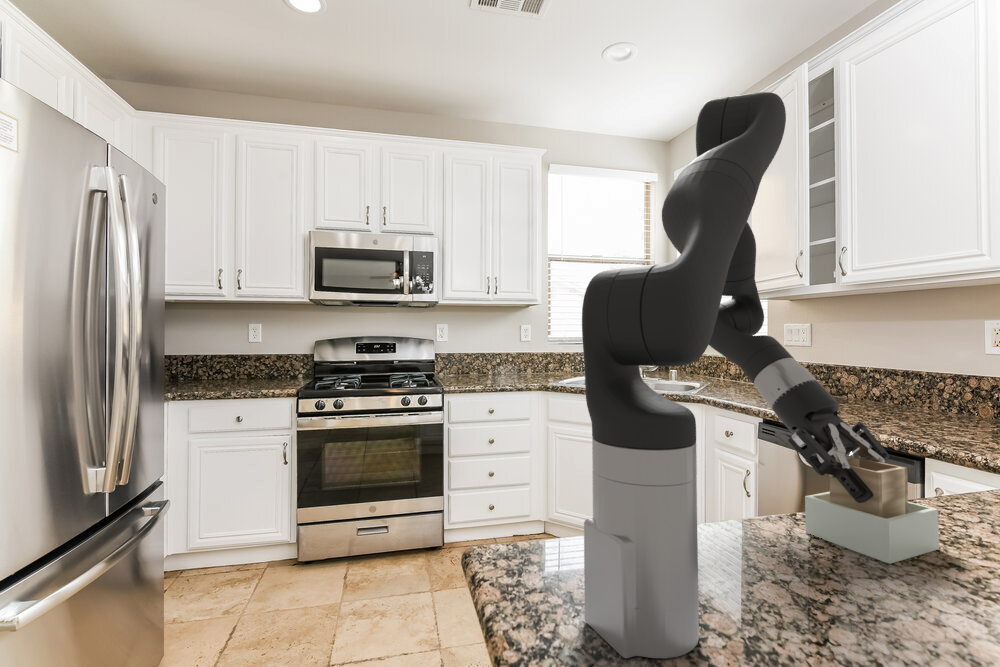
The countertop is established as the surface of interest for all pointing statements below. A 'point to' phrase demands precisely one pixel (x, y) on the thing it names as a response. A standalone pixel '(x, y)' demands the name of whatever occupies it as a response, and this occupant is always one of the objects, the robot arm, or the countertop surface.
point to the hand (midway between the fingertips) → (882, 496)
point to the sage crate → (873, 529)
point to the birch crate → (875, 488)
